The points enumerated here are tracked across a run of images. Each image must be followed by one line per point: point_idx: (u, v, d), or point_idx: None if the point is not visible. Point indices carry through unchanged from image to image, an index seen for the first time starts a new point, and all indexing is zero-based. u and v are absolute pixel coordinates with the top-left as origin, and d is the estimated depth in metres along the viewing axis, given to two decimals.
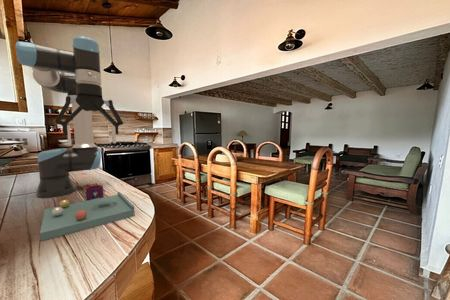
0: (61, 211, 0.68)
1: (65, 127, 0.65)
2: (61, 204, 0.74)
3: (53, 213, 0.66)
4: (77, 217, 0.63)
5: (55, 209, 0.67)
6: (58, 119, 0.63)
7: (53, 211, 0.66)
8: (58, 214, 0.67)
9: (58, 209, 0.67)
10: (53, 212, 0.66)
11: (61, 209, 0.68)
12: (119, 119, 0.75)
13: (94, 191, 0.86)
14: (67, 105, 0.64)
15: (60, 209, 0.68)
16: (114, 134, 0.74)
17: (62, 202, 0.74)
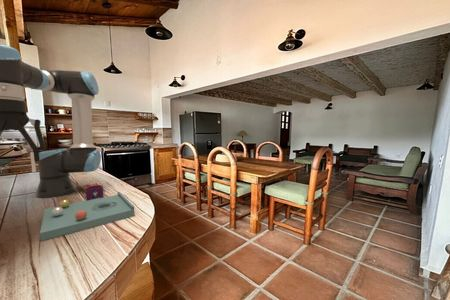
0: (61, 211, 0.68)
1: None
2: (61, 204, 0.74)
3: (53, 213, 0.66)
4: (77, 217, 0.63)
5: (55, 209, 0.67)
6: None
7: (53, 211, 0.66)
8: (58, 214, 0.67)
9: (58, 209, 0.67)
10: (53, 212, 0.66)
11: (61, 209, 0.68)
12: (41, 143, 0.63)
13: (94, 191, 0.86)
14: None
15: (60, 209, 0.68)
16: (32, 162, 0.62)
17: (62, 202, 0.74)
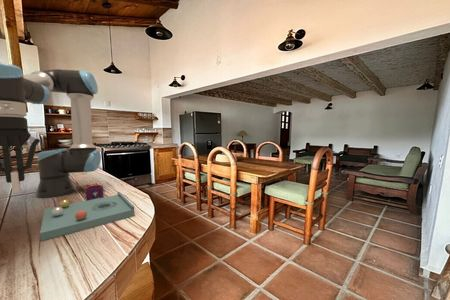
0: (61, 211, 0.68)
1: (9, 174, 0.59)
2: (61, 204, 0.74)
3: (53, 213, 0.66)
4: (77, 217, 0.63)
5: (55, 209, 0.67)
6: None
7: (53, 211, 0.66)
8: (58, 214, 0.67)
9: (58, 209, 0.67)
10: (53, 212, 0.66)
11: (61, 209, 0.68)
12: (29, 162, 0.61)
13: (94, 191, 0.86)
14: None
15: (60, 209, 0.68)
16: (16, 182, 0.60)
17: (62, 202, 0.74)
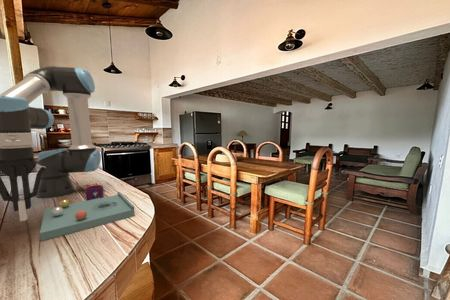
0: (61, 211, 0.68)
1: (16, 203, 0.61)
2: (61, 204, 0.74)
3: (53, 213, 0.66)
4: (77, 217, 0.63)
5: (55, 209, 0.67)
6: (4, 197, 0.59)
7: (53, 211, 0.66)
8: (58, 214, 0.67)
9: (58, 209, 0.67)
10: (53, 212, 0.66)
11: (61, 209, 0.68)
12: (35, 190, 0.63)
13: (94, 191, 0.86)
14: None
15: (60, 209, 0.68)
16: (23, 210, 0.61)
17: (62, 202, 0.74)
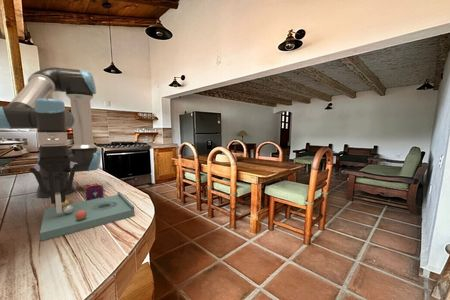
0: (68, 213, 0.69)
1: (53, 196, 0.66)
2: None
3: (67, 207, 0.69)
4: (77, 217, 0.63)
5: (71, 208, 0.70)
6: (44, 190, 0.64)
7: (69, 207, 0.69)
8: (65, 211, 0.68)
9: (71, 210, 0.69)
10: (68, 207, 0.69)
11: (70, 212, 0.69)
12: (69, 185, 0.69)
13: (94, 191, 0.86)
14: (38, 175, 0.63)
15: (71, 211, 0.70)
16: (59, 203, 0.67)
17: (62, 202, 0.74)
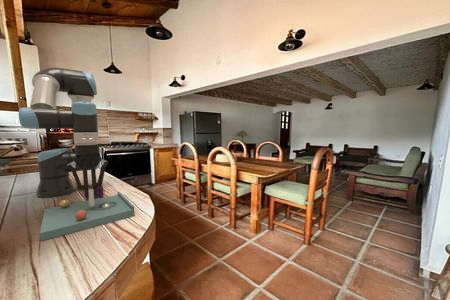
0: None
1: (87, 191, 0.72)
2: (61, 204, 0.74)
3: None
4: (77, 217, 0.63)
5: None
6: (79, 185, 0.70)
7: None
8: None
9: None
10: None
11: None
12: (101, 180, 0.75)
13: None
14: (74, 171, 0.69)
15: None
16: (92, 197, 0.73)
17: (62, 202, 0.74)
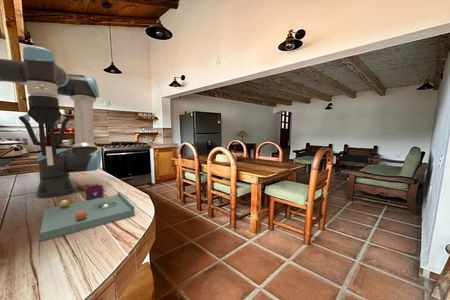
0: None
1: (44, 148, 0.66)
2: (61, 204, 0.74)
3: None
4: (77, 217, 0.63)
5: None
6: (34, 141, 0.64)
7: None
8: None
9: None
10: None
11: None
12: (60, 138, 0.68)
13: (94, 191, 0.86)
14: (28, 125, 0.63)
15: None
16: (50, 155, 0.67)
17: (62, 202, 0.74)
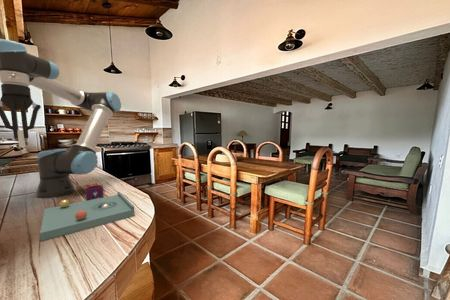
0: None
1: (16, 132, 0.73)
2: (61, 204, 0.74)
3: (108, 206, 0.77)
4: (77, 217, 0.63)
5: None
6: (6, 124, 0.71)
7: None
8: None
9: None
10: None
11: None
12: (32, 123, 0.76)
13: (94, 191, 0.86)
14: (0, 110, 0.70)
15: None
16: (22, 138, 0.74)
17: (62, 202, 0.74)
